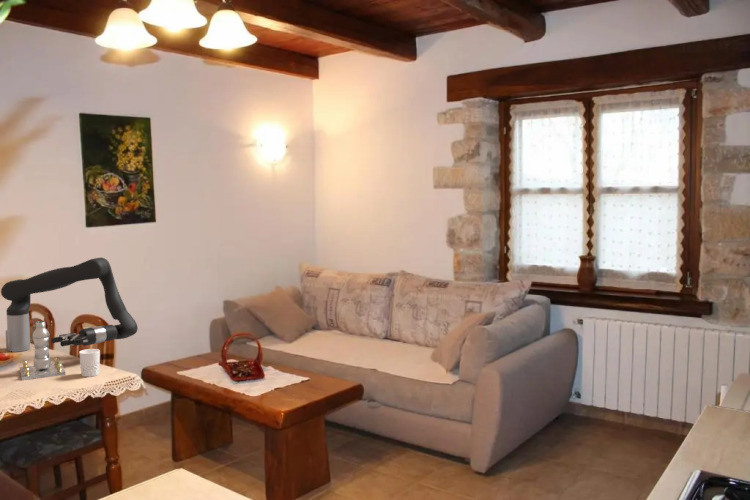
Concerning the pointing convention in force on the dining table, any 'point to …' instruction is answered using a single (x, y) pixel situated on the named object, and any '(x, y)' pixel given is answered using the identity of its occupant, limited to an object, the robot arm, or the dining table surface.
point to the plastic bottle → (41, 346)
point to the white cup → (89, 362)
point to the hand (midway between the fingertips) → (56, 342)
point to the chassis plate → (41, 370)
